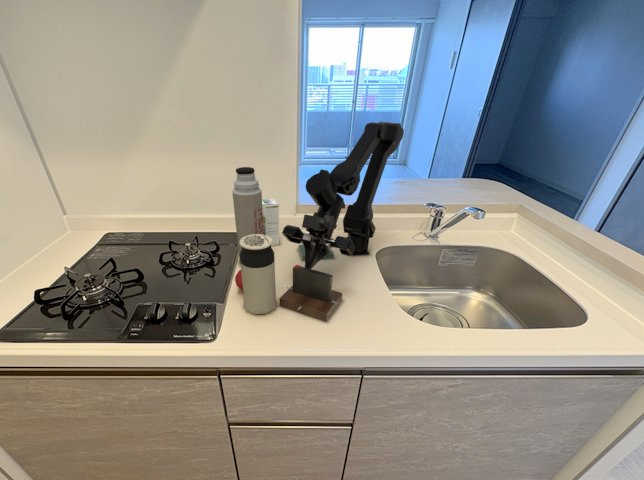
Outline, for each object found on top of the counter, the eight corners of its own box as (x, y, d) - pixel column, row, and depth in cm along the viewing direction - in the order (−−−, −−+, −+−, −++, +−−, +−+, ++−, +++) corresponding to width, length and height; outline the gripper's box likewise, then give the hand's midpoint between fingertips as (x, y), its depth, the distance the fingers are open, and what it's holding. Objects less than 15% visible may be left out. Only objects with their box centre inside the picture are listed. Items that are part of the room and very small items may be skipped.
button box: (327, 247, 110) (328, 238, 108) (333, 258, 103) (334, 248, 101) (298, 249, 109) (298, 239, 107) (302, 260, 102) (302, 250, 100)
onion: (245, 283, 91) (243, 258, 87) (262, 289, 89) (260, 263, 84) (232, 293, 87) (229, 267, 82) (249, 299, 85) (247, 273, 80)
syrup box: (259, 240, 115) (257, 199, 106) (275, 238, 116) (274, 197, 108) (263, 247, 110) (261, 205, 102) (280, 244, 112) (279, 203, 103)
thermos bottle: (270, 260, 102) (266, 167, 86) (253, 270, 97) (245, 173, 81) (251, 253, 106) (244, 163, 90) (234, 263, 101) (223, 169, 85)
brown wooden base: (347, 297, 85) (348, 289, 84) (324, 327, 75) (325, 318, 74) (299, 283, 91) (299, 275, 90) (273, 309, 81) (272, 301, 80)
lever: (330, 299, 80) (333, 274, 76) (328, 302, 79) (330, 277, 75) (295, 288, 84) (295, 264, 80) (292, 291, 83) (292, 266, 79)
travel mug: (246, 316, 79) (239, 250, 68) (243, 298, 85) (237, 234, 75) (278, 312, 80) (276, 246, 70) (273, 295, 86) (270, 232, 76)
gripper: (285, 193, 80) (262, 251, 79) (356, 206, 73) (333, 270, 71) (299, 214, 91) (279, 265, 89) (363, 227, 83) (343, 283, 81)
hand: (306, 270), depth 82 cm, fingers closed
